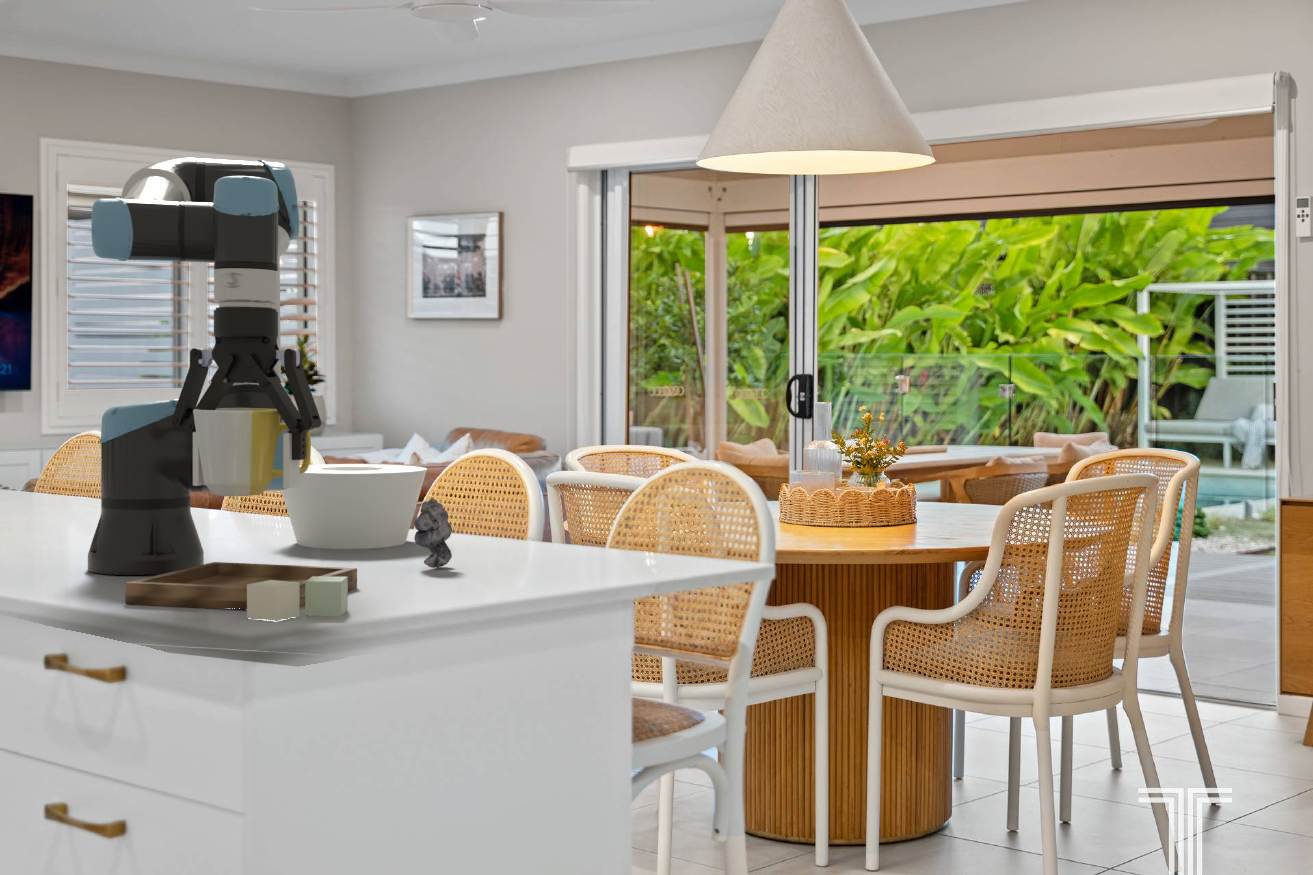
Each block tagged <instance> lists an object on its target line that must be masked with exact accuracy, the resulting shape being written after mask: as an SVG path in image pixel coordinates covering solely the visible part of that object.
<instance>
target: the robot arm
mask: <svg viewBox="0 0 1313 875" xmlns="http://www.w3.org/2000/svg"><path fill="white" fill-rule="evenodd" d="M297 194H298V193H297V188H296V182H295V178H294V175H293V173H292V170H291V169H290V167H288V166H287V165H286V164H284V163H281V162H272V161H266V160H263V159H259V160H257V161H253V160H250V161H249V160H237V159H236V160H233V159H219V158H215V159H214V158H200V157H181V158H171V159H168V160H167V159H166V160H163V161H159V162H157V163H153V164H150V165H147V166H145V167H142V168H141V169H139V170H137V171H135V172H134V173H133V174H132V175H131V176H130V177H129V178H128V179H127V181H126V182H125V184H124V186H123V189H122V192H121V197H114V198H99V199H97V200H95V201H94V202H93V205H92V207H91V218H90V219H91V225H90V226H91V228H90V229H91V231H90V232H91V244H92V250H93V252H94V254H95V256H97V257H98V258H100V259H105V260H106V259H108V260H109V259H110V260H118V261H120V262H126V261H127V260H128V261H157V262H158V261H166V262H175V261H176V262H186V263H189V262H190V263H191V262H193V263H213V301H214V302H215V303H216V304H218V307H215V309H213V337H214V339H215V341H214V346H213V348H212V349H207V348H202V347H201V348H197V347H195V348H192V349H190V351H189V368H188V370H187V372H186V376H185V379H184V383H183V386H182V387H181V391H180V395H179V397H178V398H175V399H173V398H172V399H163V400H153V401H147V402H146V401H145V402H140V403H139V402H138V403H131V404H130V403H129V404H124V405H123V404H122V405H115V406H112V407H110V408H108V409H106V410H105V412H103V415H102V417H101V429H100V430H101V431H100V432H101V433H100V439H99V440H98V441H99V444H100V448H101V449H100V450H101V454H100V456H101V458H100V459H101V463H100V464H101V471H100V472H101V474H100V476H101V478H100V479H101V480H100V482H101V483H100V484H101V485H100V491H101V492H100V494H101V496H100V499H101V501H100V502H101V503H100V504H101V505H100V509H101V510H100V517H99V520H98V523H97V526H96V529H95V532H94V534H93V537H92V540H91V543H90V544H91V545H90V547H89V550H88V553H87V571H89V572H92V573H96V574H97V573H98V574H104V575H105V574H107V575H119V576H120V575H124V576H126V575H127V576H128V575H131V576H132V575H133V576H135V575H136V576H137V575H138V576H141V575H161V574H165V573H169V572H174V571H178V570H182V569H187V568H191V567H195V566H199V565H204V564H205V563H204V562H205V558H204V554H205V552H204V549H203V546H202V542H201V539H200V536H199V533H198V530H197V528H196V524H195V521H194V519H193V515H192V512H191V493H192V492H193V493H194V492H195V493H196V492H198V493H200V492H208V493H209V492H210V493H212V492H211V491H210V490H209V489H208V487H207V486H206V485H205V483H204V479H203V472H202V466H201V459H200V453H199V447H198V440H197V434H196V428H195V421H194V414H193V410H194V409H199V410H216V408H266V409H277V411H278V413H279V414H280V416H281V418H280V423H285V424H286V425H287V427H288V430H286V431H284V432H282V433H281V434H280V435H278V438H277V444H276V450H275V457H274V464H273V469H274V470H283V477H276V478H272V479H271V482H270V484H269V485H268V486H267V488H266V489H265V490H264V491H263V492H267V491H269V492H270V491H271V492H272V491H282V490H284V489H287V488H295V487H300V466H301V465H300V463H301V461H303V460H304V459H305V457H306V434H307V432H308V431H309V430H310V431H312V430H314V429H318V428H320V427H321V426H322V419H321V416H320V413H319V411H318V408H317V405H316V402H315V398H314V397H313V396H314V395H313V393H312V390H311V388H310V385H309V383H308V382H309V381H308V379H307V377H306V372H305V370H304V366H303V365H304V364H303V363H304V362H303V361H304V360H303V356H304V355H303V351H302V350H301V349H299V348H287V349H281V276H280V275H281V270H280V269H281V266H280V265H281V264H280V262H281V261H280V259H281V258H280V257H281V256H283V255H284V254H285V253H286V252H287V251H288V250H289V248H290V244H291V241H293V240H295V239H297V238H298V237H299V235H300V213H299V208H298V195H297ZM213 362H214V363H215V364H216V366H217V370H216V371H215V372H214V374H213V375H212V378H211V379H210V384H209V385H208V387H207V388H206V391H205V392H204V394H203V395H202V397H201V393H202V391H203V387H204V385H205V382H206V379H207V376H208V373H209V368H210V366H211V365H212V364H213ZM282 367H284V371H285V376H286V379H287V381H288V384H289V387H290V390H291V393H292V396H293V399H294V402H295V403H294V402H293V399H292V397H291V395H290V394H289V393H288V392H287V391H286V389H285V388H284V386H283V384H282V380H281V379H282V377H281V376H282V372H281V371H282ZM200 397H201V398H200ZM199 399H200V400H199ZM295 404H296V405H295Z"/></svg>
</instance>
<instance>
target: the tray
mask: <svg viewBox="0 0 1313 875" xmlns="http://www.w3.org/2000/svg"><path fill="white" fill-rule="evenodd" d="M313 576H314V577H348V591H352V590H355V589H357V588H358V568H357V567H338V566H337V567H336V566H319V565H318V566H315V565H314V566H313V565H292V564H291V565H289V564H267V563H248V562H227V561H226V562H223V561H212V562H209V563H204V565H199V566H195V567H191V568H187V569H182V570H178V571H174V572H169V573H164V574H155V575H152V576H149V577H148V576H147V577H145V578H139V579H135V580H131V581H127V582H125V584H124V585H125V587H124V589H125V590H124V591H125V596H124V598H125V601H124V602H125V605H136V606H139V605H140V606H156V607H157V606H158V607H159V606H160V607H174V608H175V607H177V608H196V609H213V608H231V609H230V610H232V608H233V609H234V608H235V609H239V608H240V609H247V584H252V583H257V582H262V581H267V580H277V581H289V582H299V607H302V606H305V581H307V580H308V579H310V578H311V577H313Z"/></svg>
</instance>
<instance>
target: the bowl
mask: <svg viewBox="0 0 1313 875" xmlns="http://www.w3.org/2000/svg"><path fill="white" fill-rule="evenodd" d="M301 466H302V464H301V465H300V467H301ZM427 471H428V468H427V467H423V466H415V465H414V466H413V465H403V464H402V465H400V464H398V465H397V464H374V463H373V464H370V463H369V464H367V463H365V464H364V463H362V464H361V463H360V464H357V463H354V464H353V463H342V464H341V463H340V464H339V463H337V464H328V463H327V464H309V467H308V469H307V471H306V472H304V473H302V474H300V487H295V488H287V489H284V490H281V492H282V493H281V494H282V497H283V500H284V504H285V508H286V510H287V514H288V517H289V520H290V523H291V527H292V531H293V535H294V537H295V540H296V544H297V545H298V546H301V547H305V548H313V549H315V548H316V549H327V550H328V549H329V550H335V549H336V550H356V549H357V550H361V549H363V550H364V549H379V548H389V547H390V548H391V547H397V546H402V545H404V544H405V543H406V542H407V539H408V536H409V532H410V529H411V525H412V522H413V518H414V515H415V511H416V507H417V505H418V501H419V497H420V495H421V490H422V487H423V484H424V480H425V477H426V475H427Z"/></svg>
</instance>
